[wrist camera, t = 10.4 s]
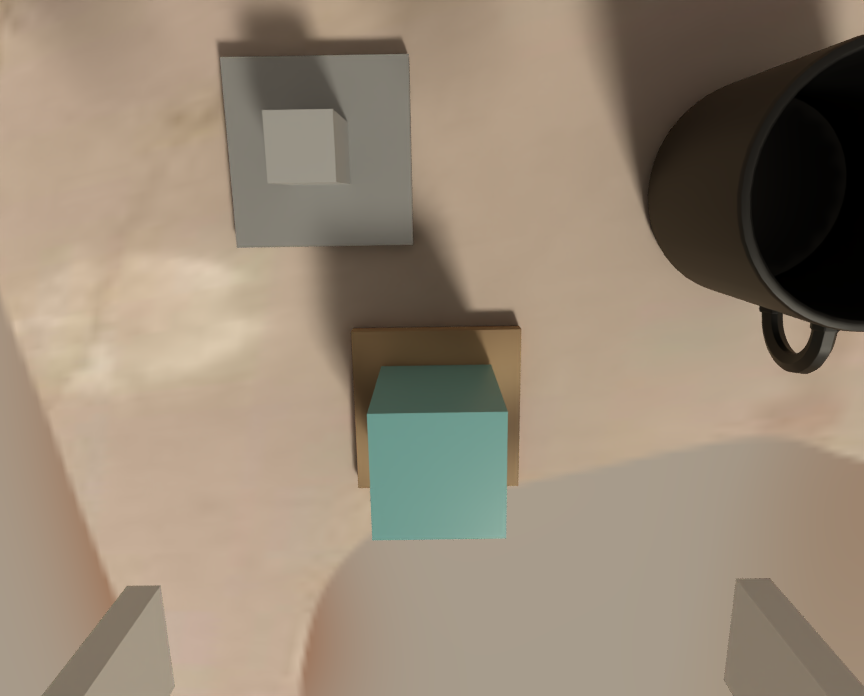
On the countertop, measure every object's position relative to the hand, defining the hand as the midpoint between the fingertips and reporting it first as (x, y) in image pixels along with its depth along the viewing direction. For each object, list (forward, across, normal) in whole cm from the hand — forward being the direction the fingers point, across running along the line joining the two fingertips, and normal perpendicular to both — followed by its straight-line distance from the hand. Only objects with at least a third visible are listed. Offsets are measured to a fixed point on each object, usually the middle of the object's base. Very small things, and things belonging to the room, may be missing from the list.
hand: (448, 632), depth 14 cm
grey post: (+17, -5, +12) cm, 21 cm away
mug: (+17, +14, +8) cm, 24 cm away
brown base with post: (+17, 0, 0) cm, 17 cm away
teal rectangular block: (+16, 0, -1) cm, 16 cm away
